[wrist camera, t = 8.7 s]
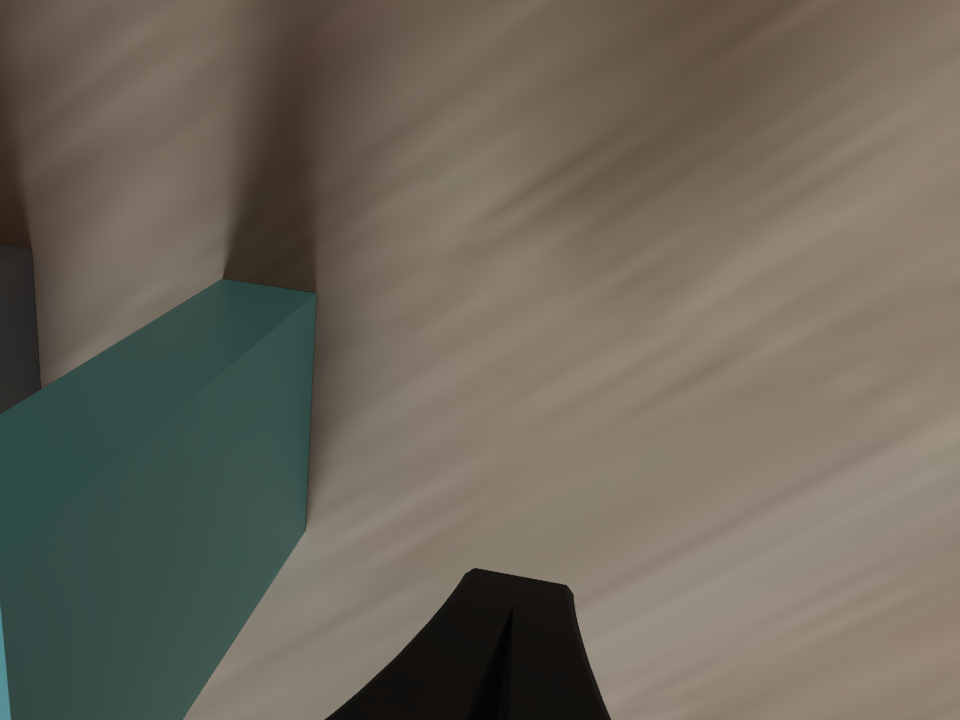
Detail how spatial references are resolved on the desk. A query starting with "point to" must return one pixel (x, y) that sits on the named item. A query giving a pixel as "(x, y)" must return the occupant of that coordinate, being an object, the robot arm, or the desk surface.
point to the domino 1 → (17, 327)
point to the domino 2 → (152, 506)
